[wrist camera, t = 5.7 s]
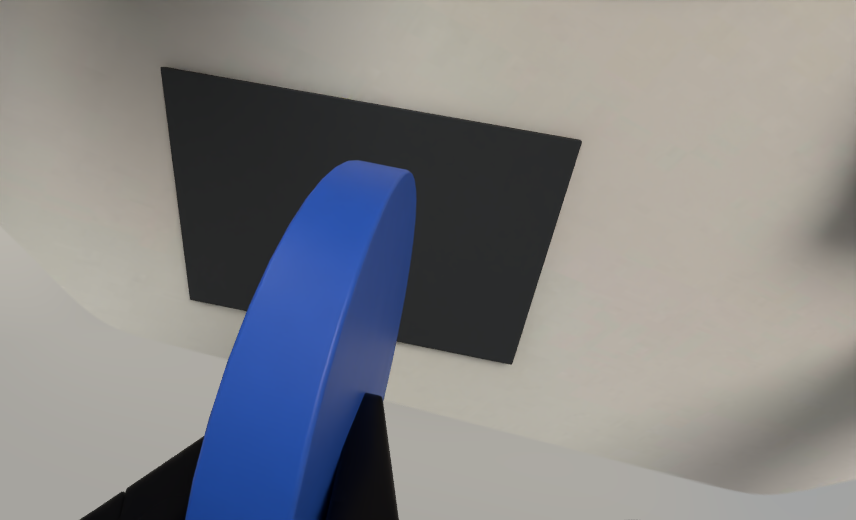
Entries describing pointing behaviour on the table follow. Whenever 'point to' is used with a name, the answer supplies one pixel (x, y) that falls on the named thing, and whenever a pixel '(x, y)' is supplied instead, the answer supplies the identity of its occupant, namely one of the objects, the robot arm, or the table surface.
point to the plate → (309, 350)
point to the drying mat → (381, 144)
